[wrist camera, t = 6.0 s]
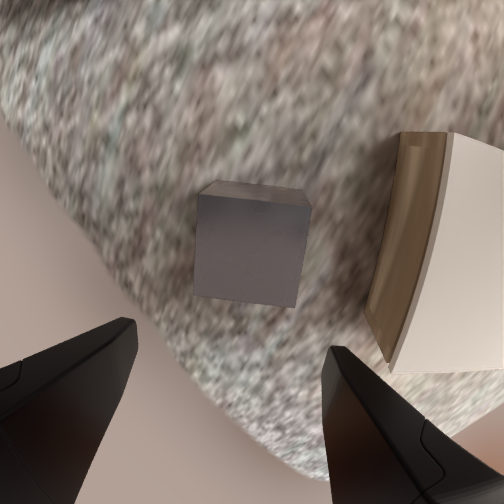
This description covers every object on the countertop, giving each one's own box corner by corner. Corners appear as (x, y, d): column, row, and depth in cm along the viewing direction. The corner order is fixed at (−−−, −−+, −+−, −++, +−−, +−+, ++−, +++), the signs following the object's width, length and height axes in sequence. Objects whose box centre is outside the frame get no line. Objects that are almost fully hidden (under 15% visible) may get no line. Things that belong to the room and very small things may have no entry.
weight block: (301, 189, 19) (311, 207, 14) (290, 268, 20) (294, 307, 16) (217, 180, 19) (198, 193, 14) (210, 259, 21) (193, 295, 16)
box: (544, 181, 17) (592, 197, 11) (504, 319, 21) (539, 355, 15) (400, 132, 17) (445, 132, 12) (363, 312, 21) (386, 362, 16)
